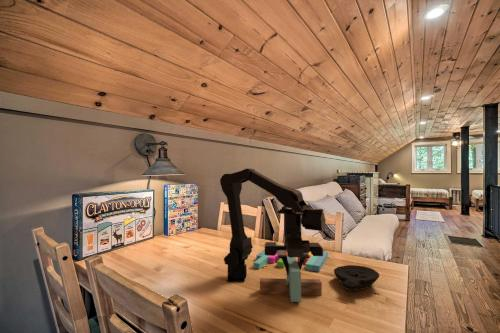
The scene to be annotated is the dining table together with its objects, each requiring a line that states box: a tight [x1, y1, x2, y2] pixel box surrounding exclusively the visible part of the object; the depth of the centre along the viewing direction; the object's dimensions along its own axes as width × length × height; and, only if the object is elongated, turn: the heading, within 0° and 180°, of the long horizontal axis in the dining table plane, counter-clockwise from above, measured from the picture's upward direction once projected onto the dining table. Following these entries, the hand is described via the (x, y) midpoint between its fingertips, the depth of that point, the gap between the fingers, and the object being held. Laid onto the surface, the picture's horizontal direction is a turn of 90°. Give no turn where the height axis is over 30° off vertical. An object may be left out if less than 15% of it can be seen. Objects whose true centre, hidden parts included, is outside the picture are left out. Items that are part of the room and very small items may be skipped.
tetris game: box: [253, 243, 329, 273], centre depth 108 cm, size 28×3×28 cm
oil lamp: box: [333, 264, 380, 292], centre depth 84 cm, size 15×20×5 cm
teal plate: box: [286, 256, 302, 303], centre depth 80 cm, size 14×3×9 cm, turn 177°
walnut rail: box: [259, 277, 323, 296], centre depth 80 cm, size 20×2×4 cm, turn 87°
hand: (292, 274), depth 80 cm, fingers closed on teal plate, 3 cm apart
